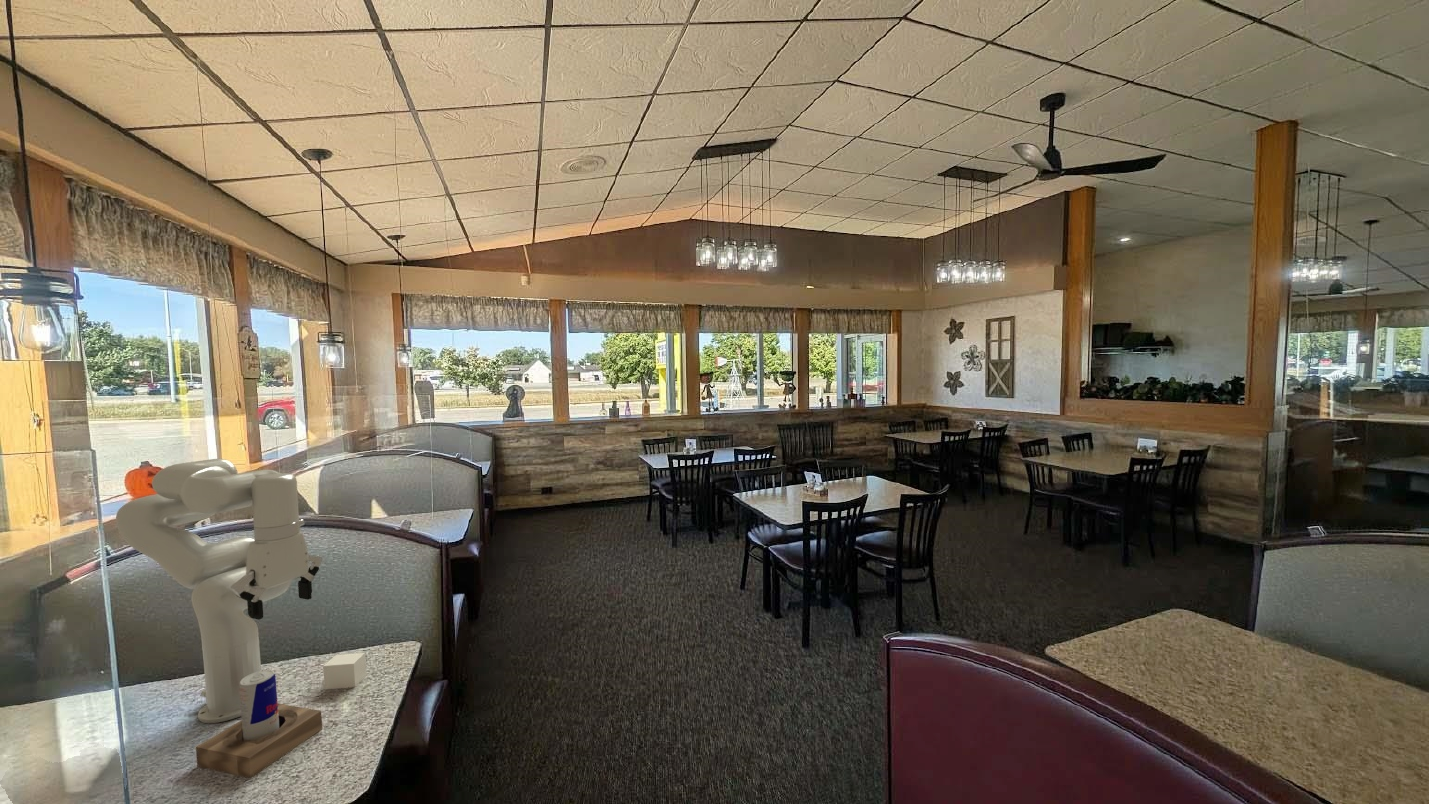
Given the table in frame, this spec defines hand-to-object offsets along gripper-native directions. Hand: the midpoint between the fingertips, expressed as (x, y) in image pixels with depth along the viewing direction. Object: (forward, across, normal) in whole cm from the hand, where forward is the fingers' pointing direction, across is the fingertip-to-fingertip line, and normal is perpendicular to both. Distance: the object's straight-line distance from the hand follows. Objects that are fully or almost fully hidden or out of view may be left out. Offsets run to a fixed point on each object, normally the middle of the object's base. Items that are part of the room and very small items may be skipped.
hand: (281, 607), depth 114 cm
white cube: (+26, -14, -2) cm, 30 cm away
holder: (+26, +7, +4) cm, 27 cm away
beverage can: (+26, +7, +4) cm, 27 cm away
